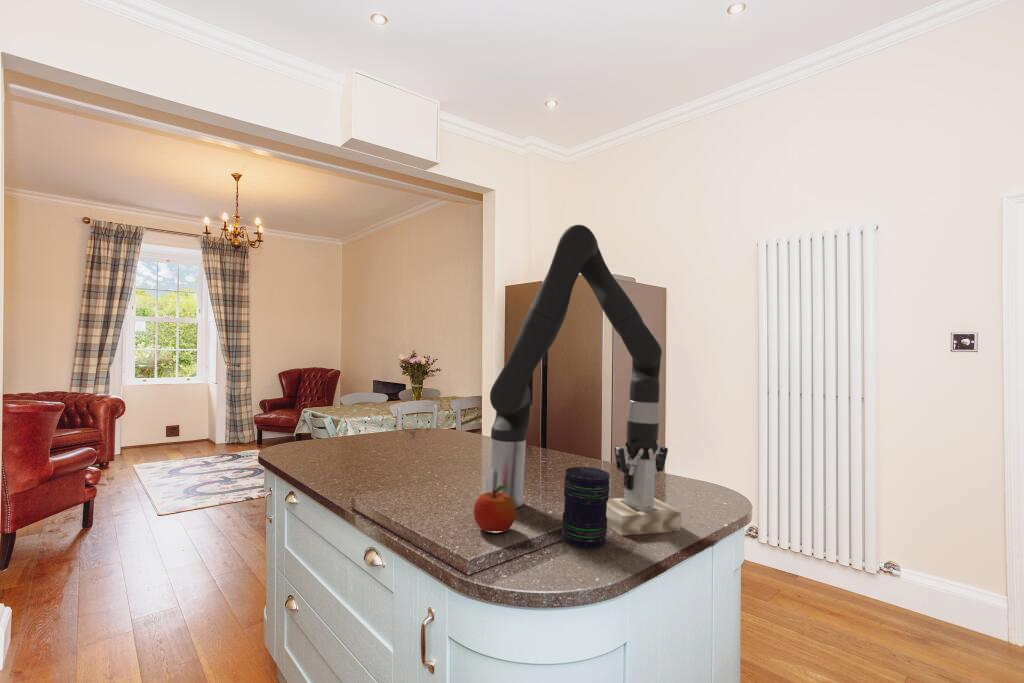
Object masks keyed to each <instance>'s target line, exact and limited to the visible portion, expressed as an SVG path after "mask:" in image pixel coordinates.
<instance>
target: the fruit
mask: <svg viewBox="0 0 1024 683" xmlns="http://www.w3.org/2000/svg"><path fill="white" fill-rule="evenodd" d="M504 488H508V487H507V486H501V485H500V486H498V487H496V490H493V492H489V493H481V495H479V496H478V497H477V499H476V500H475V502H474V505H473V506H474V507H473V517H474V520H475V522H476V523H475V524H477V526H478V527H479V529H481V530H482V531H484V530H486V531H504V530H507V529H508V530H509V529H510V528H511V527H512V526H513V524H514V522H515V520H516V513H517V510H516V509H517V508H515V503H514V501H513V500H512V498H511V497H510V496H508V495H506V494H504V493H499V491H500V490H502V489H504ZM508 489H509V488H508ZM508 530H507V531H508Z"/></svg>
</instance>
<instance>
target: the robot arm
mask: <svg viewBox="0 0 1024 683" xmlns="http://www.w3.org/2000/svg"><path fill="white" fill-rule="evenodd" d="M579 275H581V276H582V277H583V279H584V280H585V282H587V284H588V285H589V288H590V289H591V290H592V292H593V293H594V296H595V297H596V299H597V301H598V304H599V306H600V307H601V309H602V311H603V313H604V315H605V316H606V318H607V319H608V321H609V323H610V324H611V326H612V327H613V328H614V330H615V332H616V333H617V334H618V335H619V337H620V338H621V340H622V343H623V344H624V345H625V347H626V350H627V351H628V353H629V355H630V356H631V358H632V360H631V361H632V362H631V363H632V364H631V365H632V366H631V368H632V370H631V381H630V385H629V398H628V405H627V413H626V414H627V417H626V434H625V435H626V442H625V445H622V446H618V445H616V446H615V447H614V454H615V455H614V456H615V463H616V469H617V471H619V472H621V473H623V474H624V475H623V487H624V489H625V488H626V489H627V490H632V489H633V475H632V474H633V472H634V469H635V467H637V465H638V463H639V460H640V459H650V460H655V461H656V465H655V476H656V475H657V473H659V472H663V471H664V468H665V464H666V460H667V456H668V451H669V449H668V447H666V446H663V445H659V444H658V443H657V442H658V439H659V427H660V426H659V425H660V379H659V378H660V372H661V371H660V370H661V360H662V354H663V353H662V352H663V351H662V347H661V345H660V343H659V342H658V340H657V339H656V337H654V335H653V333H652V332H651V330H650V329H649V328H648V326H646V324H645V323H644V321H643V318H642V316H641V315H640V312H639V311H638V309H637V308H636V307H635V305H634V303H633V302H632V300H631V298H630V297H629V296H628V295H627V293H626V291H624V289H623V288H622V286H620V284H619V282H618V281H617V279H616V278H615V277H614V276H613V274H612V273H611V271H610V270H609V267H608V266H607V264H606V262H605V260H604V257H603V255H602V252H601V251H600V247H599V244H598V240H597V237H596V236H595V234H594V233H593V232H592V230H591V228H588V227H587V226H585V225H584V224H574V225H572V226H570V227H568V228H566V229H565V230H563V233H562V234H561V236H560V237H559V239H558V242H557V244H556V248H555V252H554V256H553V257H552V261H551V262H550V266H549V269H548V271H547V273H546V276H545V278H544V279H543V281H542V283H541V285H540V287H539V289H538V291H537V293H536V295H535V297H534V300H533V301H532V303H531V305H530V307H529V309H528V311H527V313H526V316H525V319H524V320H523V322H522V326H521V328H520V330H519V332H518V334H517V337H516V339H515V342H514V344H513V348H512V351H511V352H510V354H509V357H508V359H507V361H506V363H505V364H504V366H503V368H502V370H501V371H500V373H499V375H498V376H497V378H496V380H495V381H494V383H493V385H492V386H491V390H490V392H489V401H490V404H491V406H492V408H493V409H494V411H496V412H495V420H494V422H493V424H492V426H491V430H490V445H489V446H490V447H489V448H490V449H489V462H488V464H487V465H486V475H485V476H486V477H485V493H489V492H493V490H496V487H498V486H500V485H501V486H507V487H508V488H509V489H508V488H504V489H502V490H500V491H499V493H504V494H506V495H508V496H510V497H511V498H512V500H513V501H514V503H515V508H516V509H518V507H519V508H521V507H522V506H523V497H524V496H523V495H524V479H525V478H524V477H525V460H526V456H525V455H526V446H527V443H526V442H527V431H528V428H529V423H530V415H531V414H530V413H531V398H532V397H531V395H532V394H531V389H530V386H529V384H530V381H531V379H532V376H533V374H534V371H535V370H536V368H537V366H538V364H540V362H541V360H542V359H543V358H544V356H545V355H546V354H547V353H548V351H549V349H550V348H551V347H552V345H553V343H555V342H554V341H555V340H556V338H557V336H558V334H559V332H560V330H561V327H562V325H563V323H564V321H565V319H566V315H567V313H568V308H569V305H570V302H571V296H572V291H573V289H574V286H575V284H576V281H577V279H578V277H579ZM626 452H627V453H626ZM627 454H628V455H627ZM626 455H627V456H626ZM654 455H655V456H654ZM626 457H627V459H626ZM630 457H631V459H633V461H630V460H629V458H630Z"/></svg>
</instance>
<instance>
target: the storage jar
mask: <svg viewBox="0 0 1024 683" xmlns="http://www.w3.org/2000/svg"><path fill="white" fill-rule="evenodd" d="M564 474H565V476H564V483H563V484H564V485H563V488H564V489H563V496H564V507H563V508H564V510H563V513H562V521H561V532H562V534H561V541H562V543H564V544H565V545H567V546H569V547H572V548H573V549H574V548H575V549H579V550H592V551H593V550H598V549H599V550H600V549H602V548H604V547H605V546H606V543H607V541H606V537H607V532H608V526H607V517H606V511H607V501H608V499H610V496H609V495H610V481H609V480H610V478H611V474H610V472H608V471H606V470H603V469H599V468H596V467H588V466H587V467H585V466H574V467H568V468H566V469H565V473H564Z"/></svg>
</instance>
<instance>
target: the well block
mask: <svg viewBox="0 0 1024 683" xmlns="http://www.w3.org/2000/svg"><path fill="white" fill-rule="evenodd" d="M624 500H625V497H616V498H614V497H613V498H608V501H607V511H606V517H607V527H608V528H610V529H612V530H613V531H614V532H616V533H617V534H618V535H619V536H633V535H634V536H635V535H644V534H646V535H647V534H657V533H658V534H660V533H661V534H662V533H673V532H672V531H675V532H681V522H682V511H680V510H678V509H676V508H675V507H673V506H671V505H669V504H667V503H665V502H663V501H661V500H660V499H657V498H655V497H654V509H653V510H651V511H640V510H637V509H634V508H631V507H629V506H626V505H625V504H624Z"/></svg>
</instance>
